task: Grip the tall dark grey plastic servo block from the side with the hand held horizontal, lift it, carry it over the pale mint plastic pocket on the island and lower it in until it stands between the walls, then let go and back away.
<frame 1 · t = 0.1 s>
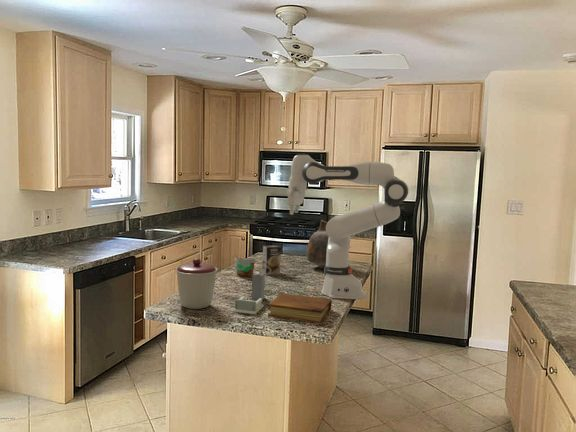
hand: (293, 213, 237), 39 cm above the countertop, tool pointing down, fingers open, 8 cm apart
diary: (300, 314, 203), on the countertop
servo: (257, 299, 220), on the countertop
canister: (196, 306, 206), on the countertop
coffee box: (271, 273, 273), on the countertop
food container: (242, 276, 264), on the countertop
pocket: (248, 309, 205), on the countertop
jug: (323, 268, 291), on the countertop
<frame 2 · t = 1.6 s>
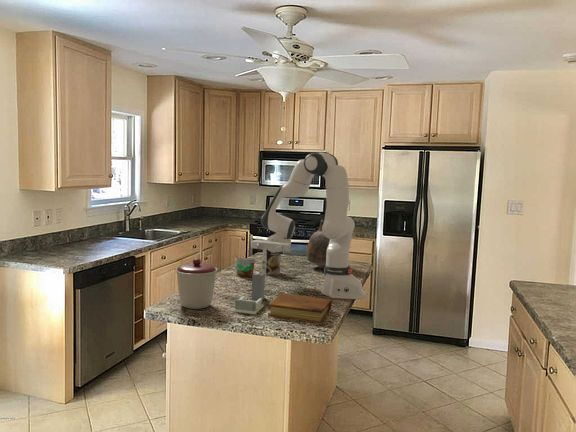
hand: (266, 248, 229), 22 cm above the countertop, tool horizontal, fingers open, 8 cm apart
nothing on the countertop moved.
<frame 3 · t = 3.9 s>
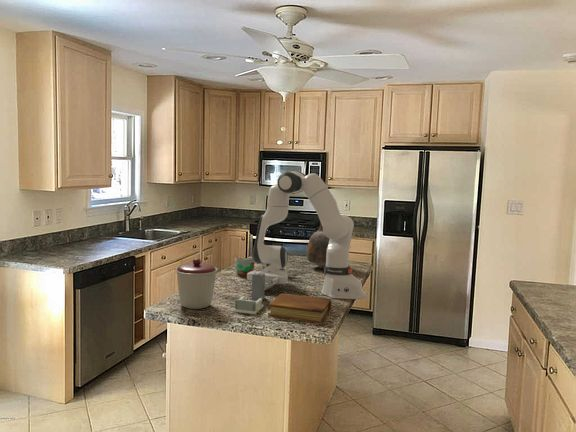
hand: (262, 280, 226), 7 cm above the countertop, tool horizontal, fingers open, 8 cm apart
nothing on the countertop moved.
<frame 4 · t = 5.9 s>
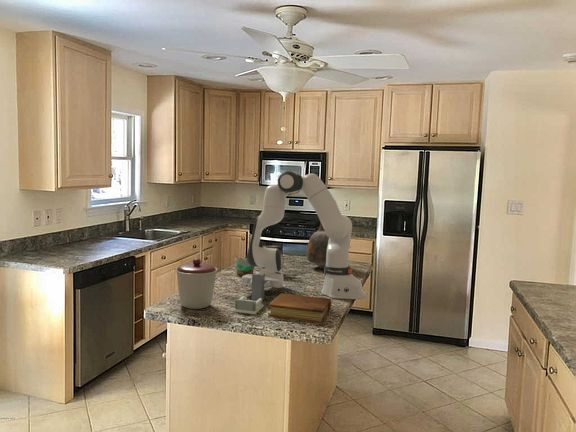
hand: (257, 284, 219), 7 cm above the countertop, tool horizontal, fingers closed on servo, 5 cm apart
servo: (257, 299, 220), on the countertop, touching gripper
everything else where it was.
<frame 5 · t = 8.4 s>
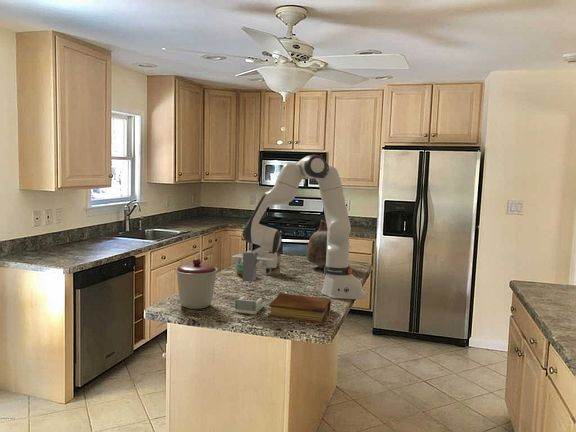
hand: (249, 264, 202), 20 cm above the countertop, tool horizontal, fingers closed on servo, 5 cm apart
servo: (249, 279, 203), point 13 cm above the countertop, touching gripper
everything else where it was.
when the fingers open (9 cm above the countertop, at t = 10.7 s): servo drops 1 cm, resting on pocket.
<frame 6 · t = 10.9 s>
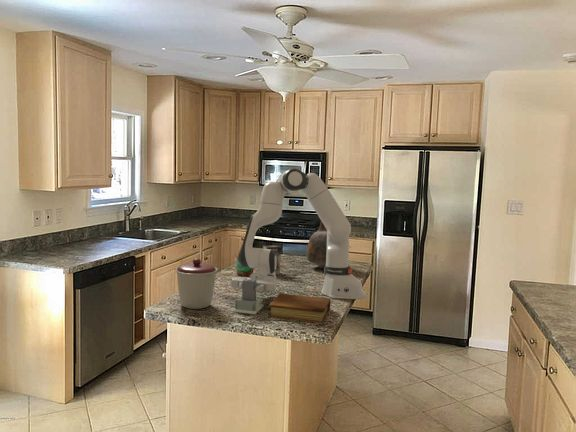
hand: (248, 288, 203), 9 cm above the countertop, tool horizontal, fingers open, 6 cm apart
servo: (248, 306, 205), point 1 cm above the countertop, touching pocket
everything else where it was.
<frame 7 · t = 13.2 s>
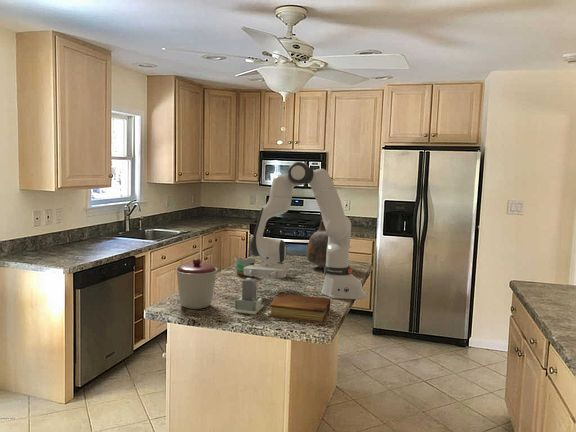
hand: (260, 275, 216), 12 cm above the countertop, tool horizontal, fingers open, 8 cm apart
nothing on the countertop moved.
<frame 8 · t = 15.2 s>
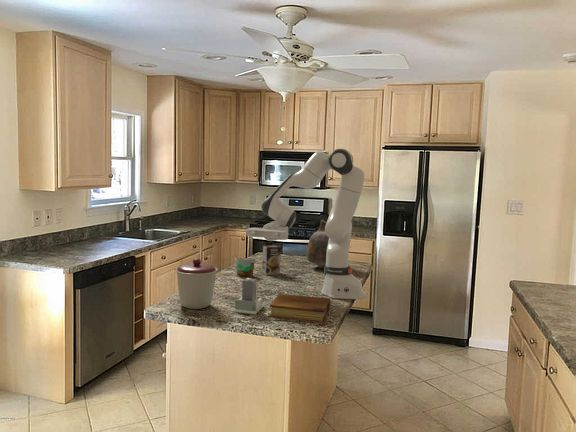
hand: (262, 235, 218), 30 cm above the countertop, tool horizontal, fingers open, 8 cm apart
nothing on the countertop moved.
at the end: servo 0.1 cm off-centre on the pocket, point 1.0 cm above the pocket's base; servo tilted 0°; the gripper is holding nothing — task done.
